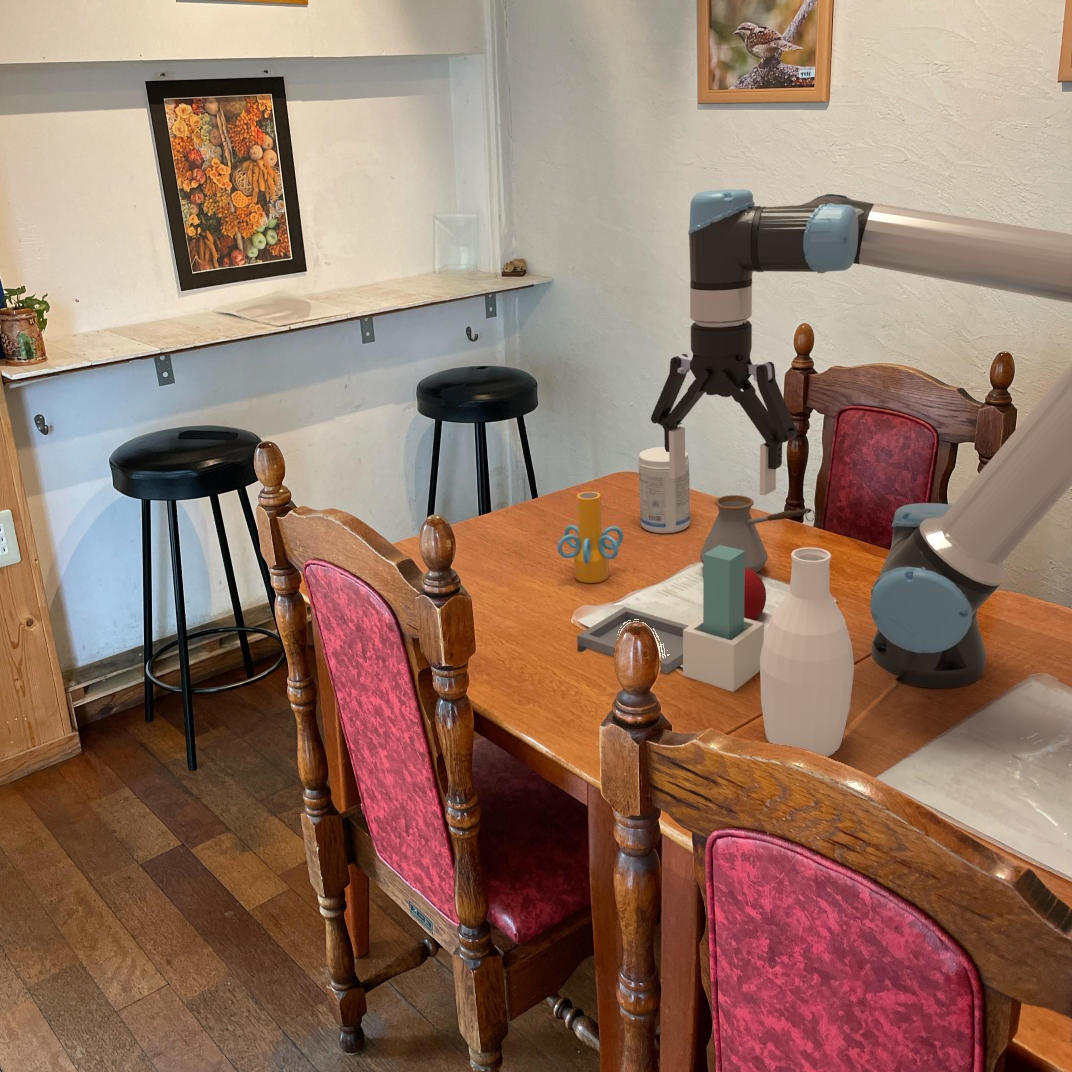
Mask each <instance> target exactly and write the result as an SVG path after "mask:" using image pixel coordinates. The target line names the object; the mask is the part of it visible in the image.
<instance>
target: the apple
mask: <svg viewBox="0 0 1072 1072" xmlns="http://www.w3.org/2000/svg"><path fill="white" fill-rule="evenodd" d="M766 601H767V591H766V586H765V583H764V581H763V579H762V578H761V577H760V575H759V573H758V572H754V571H752V570H750V569H748V568H745V591H744V618H747V619H751V620H754V621H757V619H759V617H760V616H761V615H762V613H763V611H764V609H765V607H766Z"/></svg>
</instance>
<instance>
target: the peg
mask: <svg viewBox="0 0 1072 1072" xmlns="http://www.w3.org/2000/svg"><path fill="white" fill-rule="evenodd" d="M702 567H703V580H702V581H703V586H702V587H703V588H702V589H703V592H702V593H703V594H702V595H703V599H702V600H703V601H702V602H703V603H702V604H703V607H702V608H703V609H702V610H703V613H702V615H703V616H702V617H703V632H704V633H708V634H711V635H714V636H718V637H721V638H725V639H728V640H733V639H734V638H735V637H737V636H738V635H740V634H741V633H742V632H744V591H745V551H744V550H739V549H735V548H731V547H726V546H722V545H718V546H717V547H715V548H713V549H712V550H710V551H708V552H707V553H705V554H704V565H703V566H702Z"/></svg>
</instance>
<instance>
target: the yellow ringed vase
mask: <svg viewBox="0 0 1072 1072" xmlns="http://www.w3.org/2000/svg"><path fill="white" fill-rule="evenodd" d="M601 500H602V498H601V493H599V492H597V491H583V492H579V493H578V494H576V505H577V506H576V510H577V525H573V524H570V525H567V526H565V529H564V534H563V535H564V536H563V537H562V536H561V538H560V540H559V541H558V543H557V552H558V554H559V555H560V556H561V557H562V558H563V559H571V558H573V568H574V569H573V570H574V571H573V572H574V578H575V580H576V581H578V582H580V583H584V584H597V583H601V582H604V581H606V580H608V579H609V575H610V567H609V566H610V565H609V563H610V562H609V560H614V559H615V558H617V556H618V554H619V547H620V546H621V544H622V543H623V541H624V533H623V530H622V529H621V528H620V527H618V526H615V525H614V526H613V525H612V526H608V527H606V528H605V529H604V530H603V529H602V528H603V526H602V501H601ZM571 530H573V531H575V532H576V534H577V535H576V534H570V531H571ZM602 530H603V531H602ZM610 532H617V535H618V539H617V540H616V539H615V538H614V537H612V536H611V535H609V533H610ZM572 540H573V541H574V542H575V543H574V542H573V541H572ZM606 540H607V541H609V542H610V543H611V544H612V545H610V544H607V543H606ZM565 542H566V544H567V545H568V546H569V547H570V548H572V549H574V550H573V551H572V552H571V553H565V552H564V551H563V545H564V544H565ZM607 550H610V551H612V550H613V552H612V554H609V553H608V551H607Z"/></svg>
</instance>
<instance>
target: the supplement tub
mask: <svg viewBox="0 0 1072 1072" xmlns="http://www.w3.org/2000/svg"><path fill="white" fill-rule="evenodd" d="M689 460H690V459H689V453H688V451H686V450H685V466H686V473H685V474H683V475H681V476H679V477H677V478H675V479H672V478H670V464H669V452H666V450H665V446H657V447H656V446H655V447H651V448H648V449H644V450H643V451H641V452H639V454H638V485H639V486H638V489H639V491H638V492H639V494H638V495H639V512H640V513H639V515H640V516H639V517H640V525H641V527H642V528H643V529H644V530H646V531H648V532H651V533H656V534H674V533H678V532H680V531H684V530H685V529H687V528H688V527H689V525H690V523H691V501H690V499H691V497H690V496H691V495H690V494H691V492H690V489H691V488H690V461H689Z"/></svg>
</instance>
